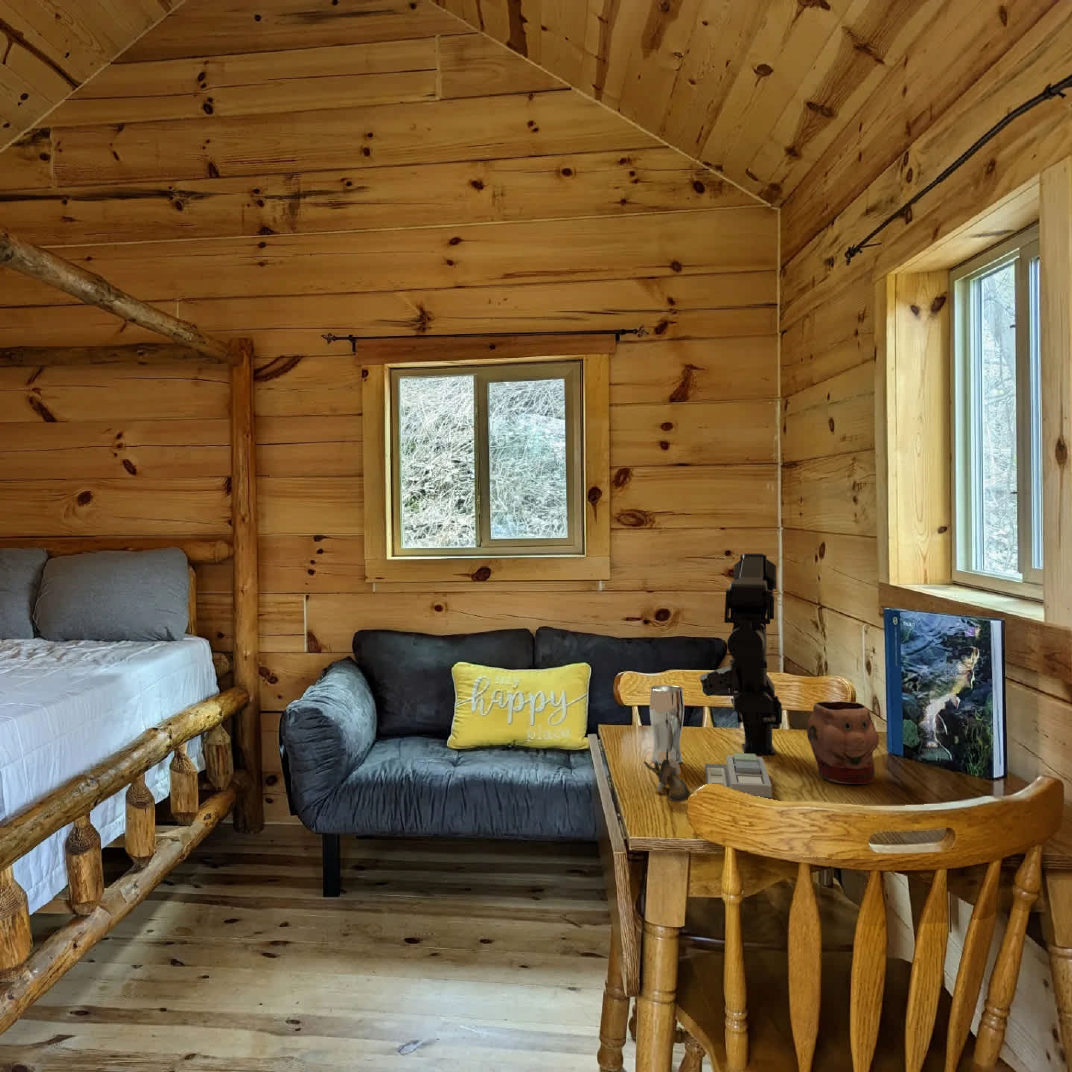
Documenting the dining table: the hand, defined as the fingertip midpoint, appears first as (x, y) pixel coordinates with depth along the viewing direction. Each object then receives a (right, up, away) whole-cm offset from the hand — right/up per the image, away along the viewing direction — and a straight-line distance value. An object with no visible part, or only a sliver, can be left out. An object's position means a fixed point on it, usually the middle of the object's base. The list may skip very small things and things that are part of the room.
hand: (749, 742), depth 136 cm
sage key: (+2, -7, +11) cm, 13 cm away
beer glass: (-11, -10, +22) cm, 26 cm away
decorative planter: (+21, -10, +11) cm, 25 cm away
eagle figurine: (-14, -10, +2) cm, 17 cm away
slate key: (+1, -7, +6) cm, 9 cm away
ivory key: (0, -8, 0) cm, 8 cm away
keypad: (-1, -10, +6) cm, 11 cm away
